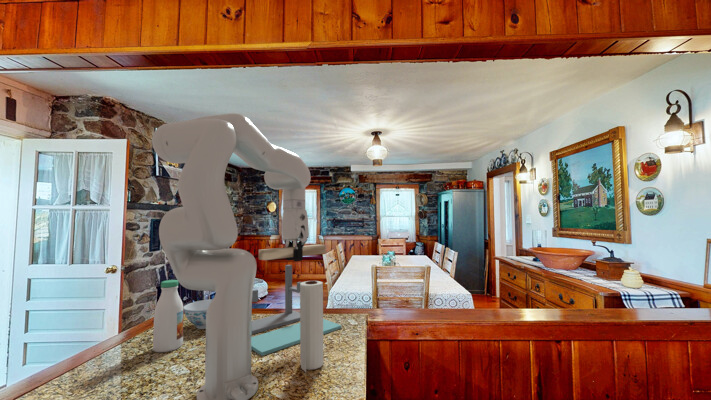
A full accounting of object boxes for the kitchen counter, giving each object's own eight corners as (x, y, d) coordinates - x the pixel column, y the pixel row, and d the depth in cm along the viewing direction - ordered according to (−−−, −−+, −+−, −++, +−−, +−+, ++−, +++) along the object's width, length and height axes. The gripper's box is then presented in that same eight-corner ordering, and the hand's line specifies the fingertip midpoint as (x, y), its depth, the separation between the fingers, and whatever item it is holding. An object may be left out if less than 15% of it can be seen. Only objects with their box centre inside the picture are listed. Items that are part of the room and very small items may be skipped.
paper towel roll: (313, 357, 84) (313, 279, 85) (328, 364, 79) (327, 281, 81) (291, 366, 78) (291, 283, 80) (305, 374, 74) (305, 286, 76)
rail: (325, 253, 109) (325, 244, 109) (264, 260, 92) (264, 250, 92) (319, 252, 112) (319, 244, 112) (258, 259, 95) (258, 249, 95)
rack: (307, 318, 117) (307, 266, 118) (247, 335, 100) (248, 274, 102) (293, 313, 124) (292, 264, 125) (235, 328, 107) (235, 271, 109)
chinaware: (195, 336, 100) (195, 313, 101) (175, 327, 109) (176, 305, 110) (236, 323, 112) (236, 302, 113) (215, 316, 121) (216, 297, 122)
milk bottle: (168, 354, 87) (170, 283, 89) (146, 352, 89) (148, 283, 90) (188, 343, 95) (189, 278, 96) (167, 341, 96) (169, 278, 98)
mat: (341, 328, 106) (341, 325, 106) (262, 356, 85) (262, 352, 85) (318, 319, 115) (318, 317, 115) (242, 343, 94) (242, 339, 94)
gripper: (318, 205, 100) (318, 261, 99) (290, 207, 112) (290, 257, 110) (298, 204, 94) (299, 263, 93) (272, 206, 106) (271, 259, 105)
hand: (294, 259), depth 102 cm, fingers closed on rail, 3 cm apart
